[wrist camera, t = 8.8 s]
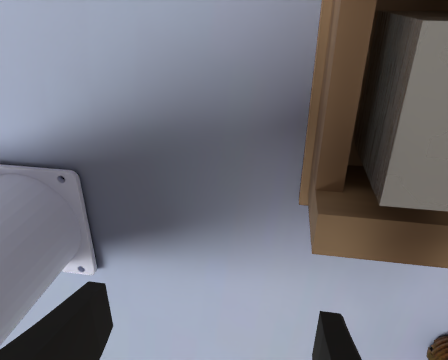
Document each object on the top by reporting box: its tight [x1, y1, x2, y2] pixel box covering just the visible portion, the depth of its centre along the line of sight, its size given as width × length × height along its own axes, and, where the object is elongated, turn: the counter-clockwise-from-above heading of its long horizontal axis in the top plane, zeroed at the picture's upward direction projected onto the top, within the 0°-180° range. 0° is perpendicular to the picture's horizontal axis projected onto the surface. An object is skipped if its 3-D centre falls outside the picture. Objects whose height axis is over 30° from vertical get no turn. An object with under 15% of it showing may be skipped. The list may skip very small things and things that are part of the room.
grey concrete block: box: [354, 11, 448, 211], centre depth 14 cm, size 3×6×6 cm, turn 0°
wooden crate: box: [299, 0, 448, 268], centre depth 15 cm, size 8×14×6 cm, turn 0°
